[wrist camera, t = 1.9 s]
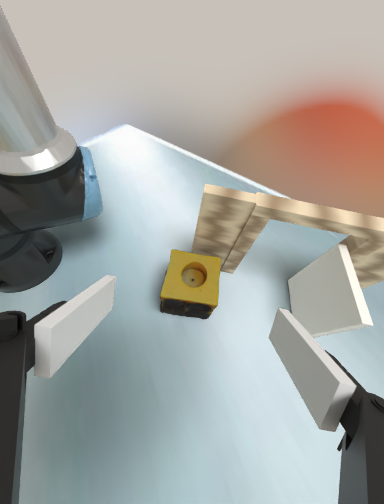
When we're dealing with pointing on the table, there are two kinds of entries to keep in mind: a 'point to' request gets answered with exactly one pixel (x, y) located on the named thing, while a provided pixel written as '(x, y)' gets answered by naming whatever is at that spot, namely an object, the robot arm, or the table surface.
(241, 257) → the door frame
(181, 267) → the candle
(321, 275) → the door
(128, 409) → the table surface
